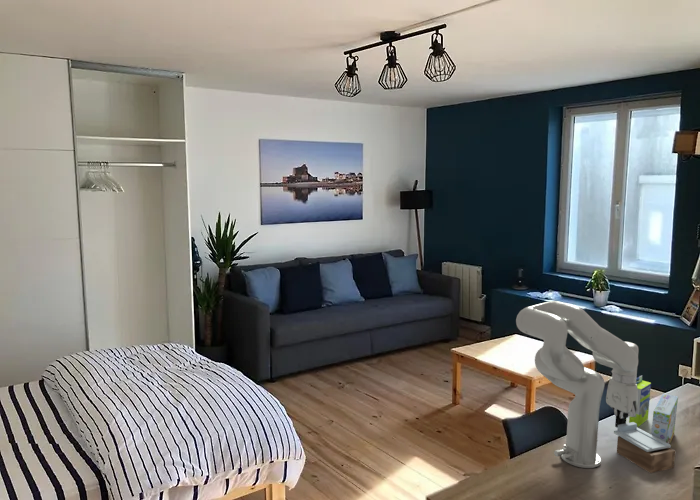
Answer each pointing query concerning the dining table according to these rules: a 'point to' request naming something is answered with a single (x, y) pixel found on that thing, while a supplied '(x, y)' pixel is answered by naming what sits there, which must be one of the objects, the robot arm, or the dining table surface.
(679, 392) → the dining table surface
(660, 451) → the keepsake box
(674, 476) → the dining table surface
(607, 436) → the dining table surface
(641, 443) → the lid
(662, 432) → the snack box
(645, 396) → the box
